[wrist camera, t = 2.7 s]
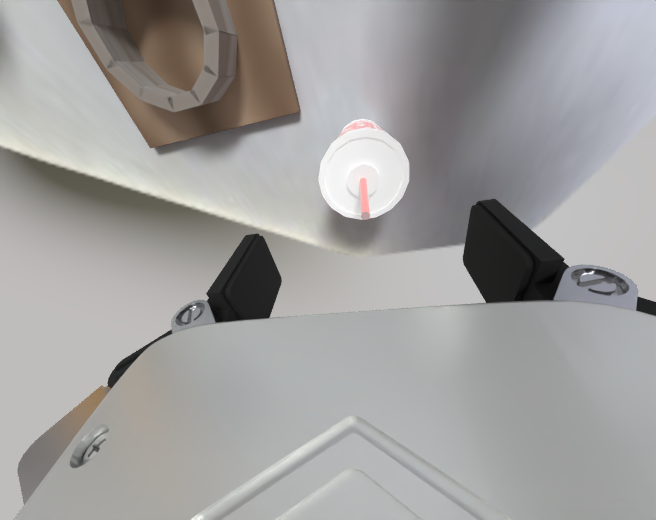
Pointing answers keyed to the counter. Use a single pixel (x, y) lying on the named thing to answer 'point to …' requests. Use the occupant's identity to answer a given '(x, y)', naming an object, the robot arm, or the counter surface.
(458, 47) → the counter surface
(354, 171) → the beverage cup
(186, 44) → the coaster board
